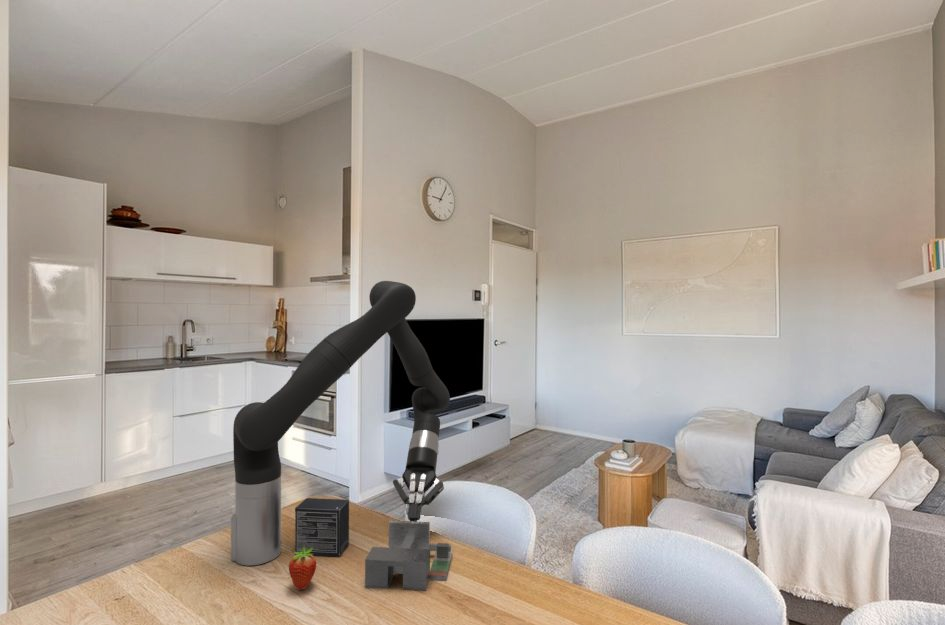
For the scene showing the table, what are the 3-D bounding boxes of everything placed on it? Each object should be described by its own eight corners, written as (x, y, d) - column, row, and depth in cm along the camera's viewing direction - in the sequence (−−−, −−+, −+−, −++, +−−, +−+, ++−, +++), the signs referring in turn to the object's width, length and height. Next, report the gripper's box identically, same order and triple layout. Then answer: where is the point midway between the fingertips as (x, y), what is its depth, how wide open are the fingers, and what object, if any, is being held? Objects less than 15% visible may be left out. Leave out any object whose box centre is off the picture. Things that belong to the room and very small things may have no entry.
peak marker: (436, 557, 103) (436, 546, 103) (437, 553, 105) (437, 542, 105) (447, 557, 103) (447, 546, 103) (448, 553, 104) (448, 543, 104)
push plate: (376, 579, 96) (376, 544, 96) (389, 551, 107) (389, 520, 107) (444, 582, 95) (444, 547, 95) (451, 554, 106) (451, 523, 106)
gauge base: (365, 587, 94) (365, 559, 94) (383, 551, 107) (383, 527, 107) (443, 591, 92) (443, 563, 92) (452, 554, 106) (452, 530, 106)
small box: (350, 543, 111) (350, 498, 111) (340, 557, 105) (340, 510, 105) (306, 540, 112) (307, 496, 112) (293, 555, 106) (293, 507, 106)
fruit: (283, 588, 93) (283, 547, 93) (307, 577, 97) (307, 538, 97) (297, 599, 90) (297, 557, 90) (322, 587, 94) (322, 546, 93)
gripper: (395, 444, 121) (382, 513, 109) (447, 446, 120) (440, 516, 108) (399, 458, 126) (387, 526, 114) (449, 460, 125) (443, 528, 113)
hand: (413, 521), depth 111 cm, fingers closed
